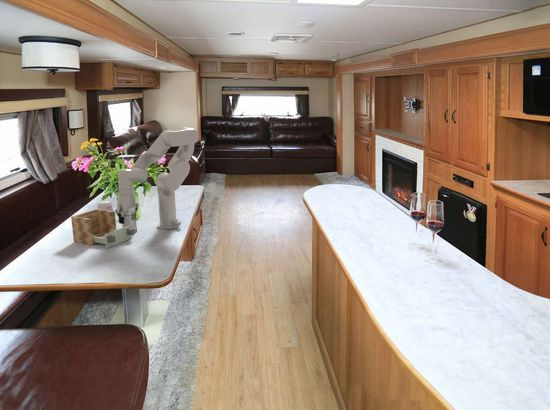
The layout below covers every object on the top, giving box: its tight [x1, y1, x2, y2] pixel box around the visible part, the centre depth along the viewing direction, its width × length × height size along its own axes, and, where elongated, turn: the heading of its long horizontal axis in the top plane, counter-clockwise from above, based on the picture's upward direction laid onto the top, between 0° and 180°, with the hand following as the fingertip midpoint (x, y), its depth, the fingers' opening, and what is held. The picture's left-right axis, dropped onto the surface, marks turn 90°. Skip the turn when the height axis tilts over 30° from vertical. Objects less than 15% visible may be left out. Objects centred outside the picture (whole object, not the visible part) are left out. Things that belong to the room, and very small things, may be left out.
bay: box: [70, 208, 117, 246], centre depth 271 cm, size 13×18×14 cm
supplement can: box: [97, 200, 114, 211], centre depth 293 cm, size 8×8×15 cm
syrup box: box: [121, 207, 138, 234], centre depth 282 cm, size 6×6×14 cm
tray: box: [93, 226, 135, 249], centre depth 266 cm, size 16×18×7 cm
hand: (127, 221), depth 281 cm, fingers open, 9 cm apart
